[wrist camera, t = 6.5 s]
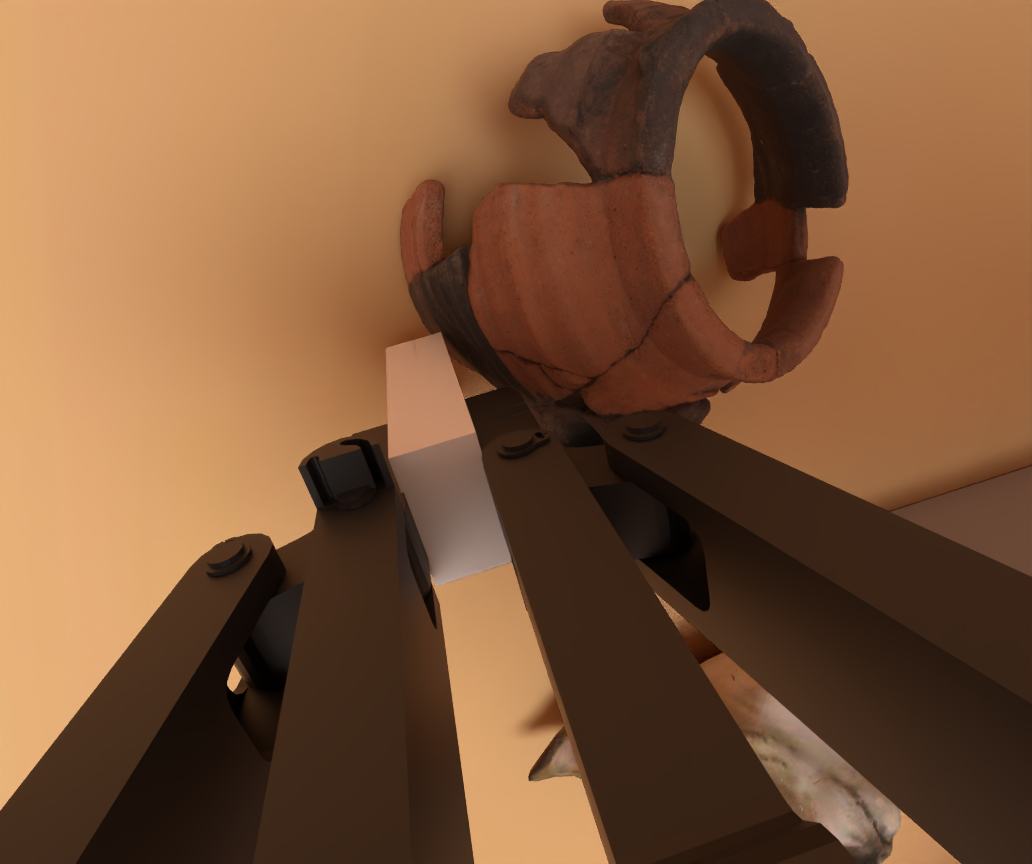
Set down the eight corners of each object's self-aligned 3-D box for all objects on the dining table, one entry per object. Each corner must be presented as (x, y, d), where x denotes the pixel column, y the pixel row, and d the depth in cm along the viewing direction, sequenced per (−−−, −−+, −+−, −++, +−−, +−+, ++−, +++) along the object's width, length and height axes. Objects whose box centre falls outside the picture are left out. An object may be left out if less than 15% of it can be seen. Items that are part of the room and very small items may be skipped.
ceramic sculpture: (1117, 828, 19) (728, 1040, 22) (916, 630, 27) (647, 805, 30) (1020, 665, 15) (546, 957, 17) (812, 483, 22) (506, 705, 25)
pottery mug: (346, 79, 15) (575, -153, 8) (615, 120, 20) (880, 0, 14) (413, 544, 17) (639, 651, 10) (640, 467, 23) (881, 506, 16)
